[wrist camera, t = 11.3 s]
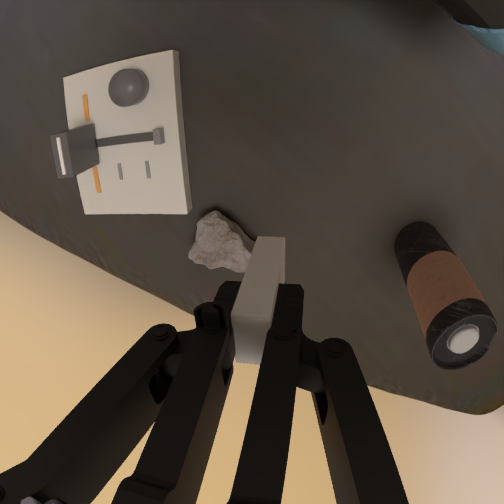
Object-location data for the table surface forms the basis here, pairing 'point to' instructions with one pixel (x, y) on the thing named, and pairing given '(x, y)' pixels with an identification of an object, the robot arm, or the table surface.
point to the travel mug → (444, 298)
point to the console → (133, 135)
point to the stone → (221, 244)
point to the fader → (74, 151)
